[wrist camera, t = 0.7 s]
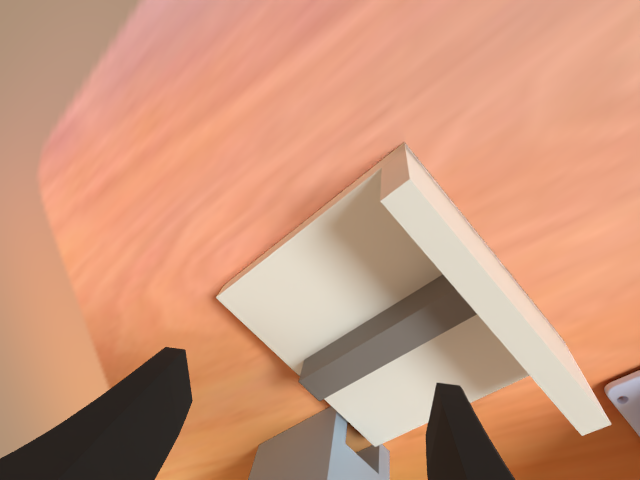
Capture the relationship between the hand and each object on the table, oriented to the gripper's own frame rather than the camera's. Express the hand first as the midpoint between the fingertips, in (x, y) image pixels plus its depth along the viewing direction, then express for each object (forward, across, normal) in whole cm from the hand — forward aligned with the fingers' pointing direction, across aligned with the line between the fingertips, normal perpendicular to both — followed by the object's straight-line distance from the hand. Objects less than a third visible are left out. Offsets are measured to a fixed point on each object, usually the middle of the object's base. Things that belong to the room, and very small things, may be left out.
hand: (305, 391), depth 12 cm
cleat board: (+10, -3, +4) cm, 11 cm away
